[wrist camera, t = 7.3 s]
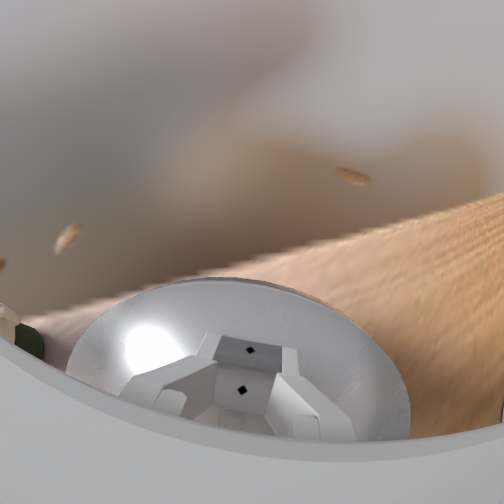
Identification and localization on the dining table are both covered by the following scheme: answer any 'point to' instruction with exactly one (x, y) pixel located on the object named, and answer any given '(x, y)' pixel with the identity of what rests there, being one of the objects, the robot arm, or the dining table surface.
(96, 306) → the dining table surface
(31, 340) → the character mug
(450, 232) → the dining table surface
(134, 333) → the pressure cooker lid
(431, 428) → the dining table surface
